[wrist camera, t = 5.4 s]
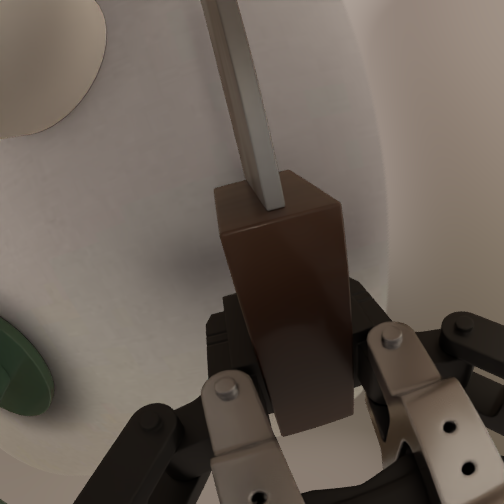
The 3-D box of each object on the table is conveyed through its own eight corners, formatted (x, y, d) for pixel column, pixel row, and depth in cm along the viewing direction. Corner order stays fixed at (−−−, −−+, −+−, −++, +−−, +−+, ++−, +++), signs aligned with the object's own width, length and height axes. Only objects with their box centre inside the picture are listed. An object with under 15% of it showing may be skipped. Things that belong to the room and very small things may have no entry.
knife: (318, 341, 12) (354, 415, 9) (261, 357, 12) (282, 437, 9) (231, -56, 6) (249, -128, 2) (155, -41, 6) (135, -110, 2)
